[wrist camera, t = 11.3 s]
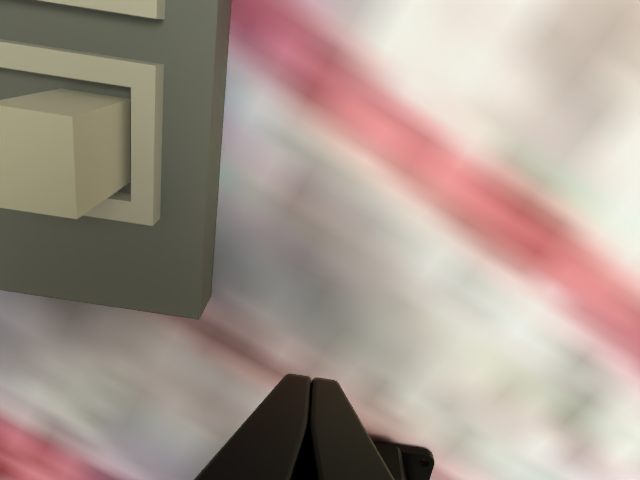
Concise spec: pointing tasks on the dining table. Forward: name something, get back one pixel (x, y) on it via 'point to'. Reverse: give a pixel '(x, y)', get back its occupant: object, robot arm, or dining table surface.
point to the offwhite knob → (63, 151)
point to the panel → (145, 149)
